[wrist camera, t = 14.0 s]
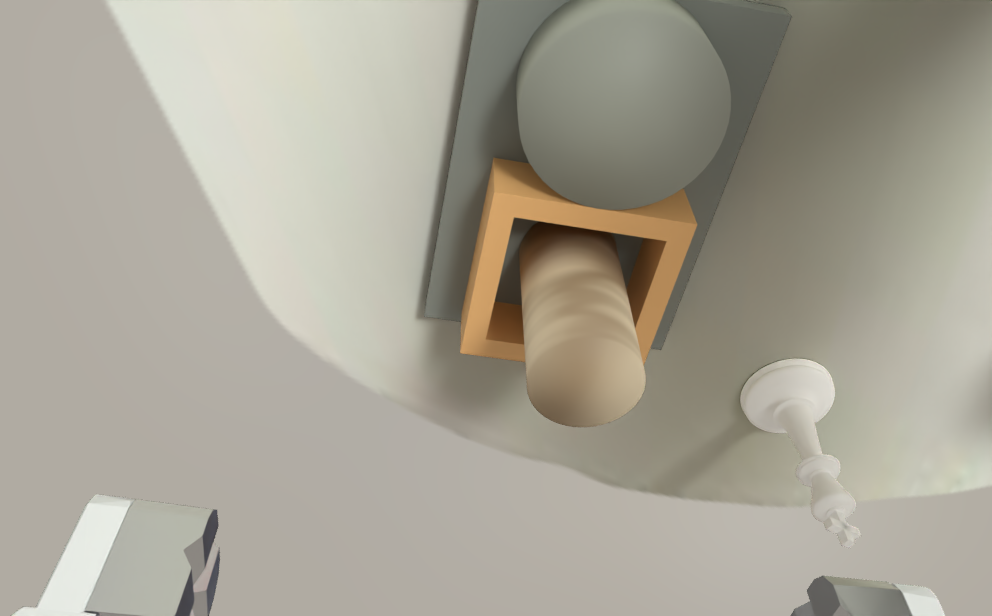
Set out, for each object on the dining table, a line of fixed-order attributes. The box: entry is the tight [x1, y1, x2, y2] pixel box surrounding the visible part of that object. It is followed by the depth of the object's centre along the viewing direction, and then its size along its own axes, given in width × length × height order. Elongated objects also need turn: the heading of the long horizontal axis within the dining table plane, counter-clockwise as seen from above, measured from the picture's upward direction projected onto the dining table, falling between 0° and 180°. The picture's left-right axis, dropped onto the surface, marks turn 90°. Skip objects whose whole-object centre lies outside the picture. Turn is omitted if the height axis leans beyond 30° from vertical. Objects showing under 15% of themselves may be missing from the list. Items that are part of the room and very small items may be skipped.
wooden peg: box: [519, 221, 646, 427], centre depth 36 cm, size 4×4×9 cm
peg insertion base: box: [424, 0, 792, 365], centre depth 37 cm, size 12×17×4 cm
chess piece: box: [740, 359, 861, 548], centre depth 43 cm, size 5×5×10 cm
